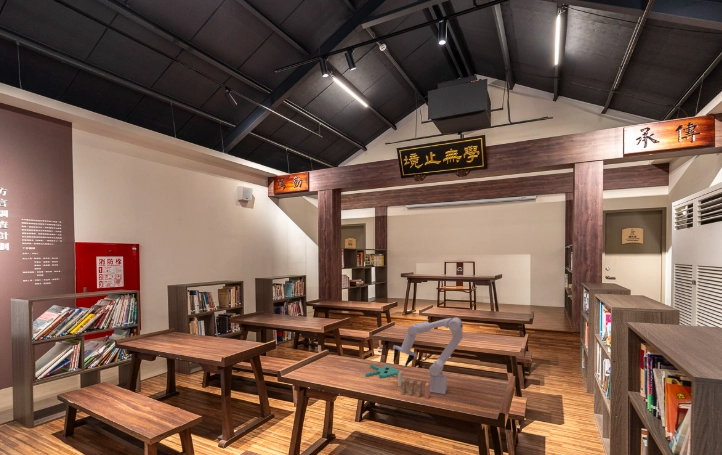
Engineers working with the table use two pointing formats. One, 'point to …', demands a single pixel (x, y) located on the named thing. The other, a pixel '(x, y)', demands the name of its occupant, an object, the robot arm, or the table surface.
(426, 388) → the domino
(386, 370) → the alien figure
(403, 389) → the domino
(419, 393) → the domino
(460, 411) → the table surface
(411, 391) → the domino
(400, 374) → the white domino
